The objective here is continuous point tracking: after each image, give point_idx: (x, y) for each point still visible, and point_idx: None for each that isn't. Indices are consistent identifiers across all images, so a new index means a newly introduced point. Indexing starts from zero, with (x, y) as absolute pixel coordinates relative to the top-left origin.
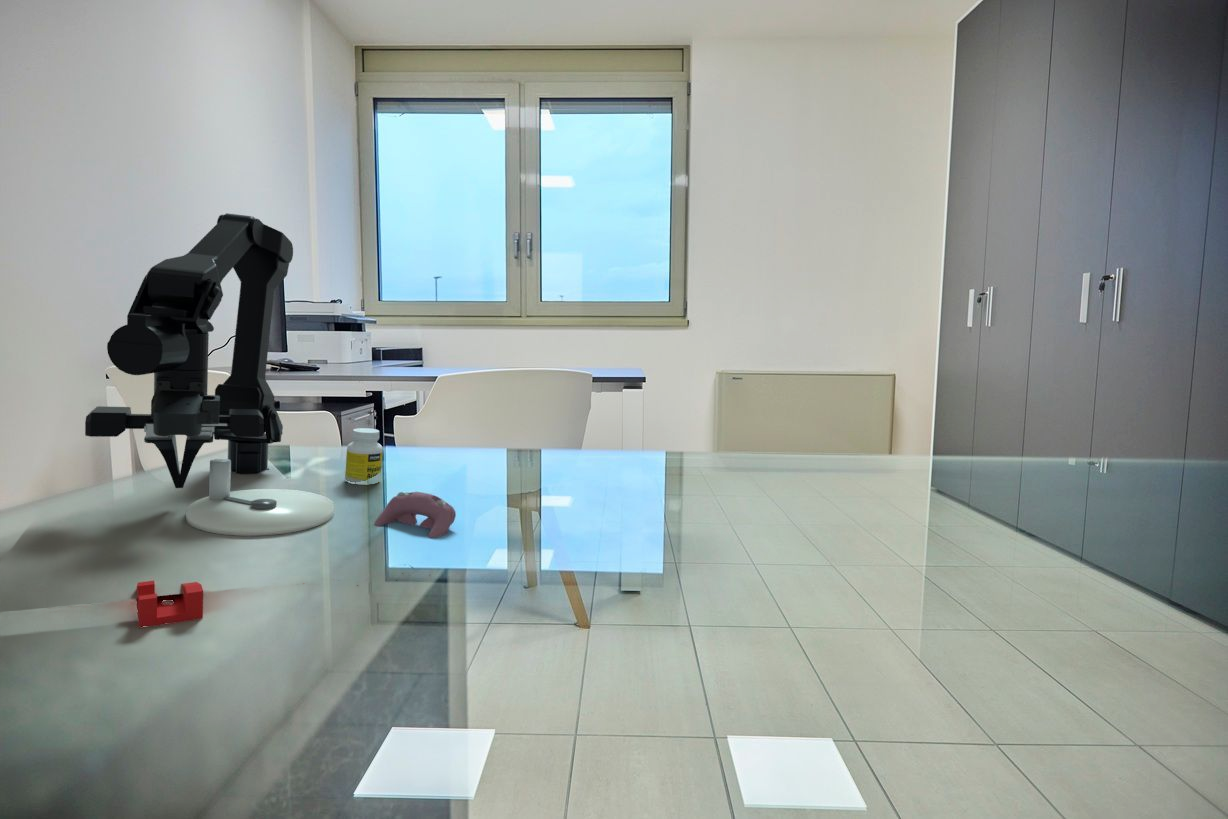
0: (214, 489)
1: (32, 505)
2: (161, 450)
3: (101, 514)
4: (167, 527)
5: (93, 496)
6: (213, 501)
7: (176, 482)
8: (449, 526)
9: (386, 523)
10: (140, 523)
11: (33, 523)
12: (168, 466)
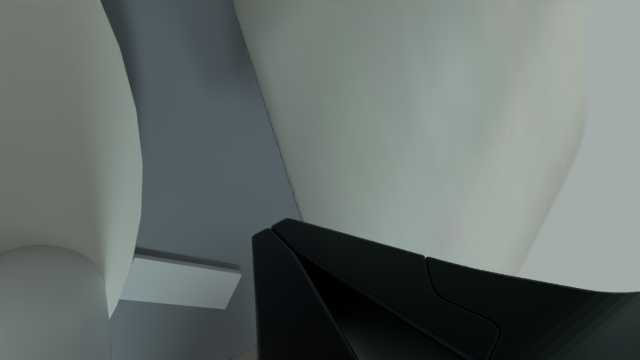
0: (33, 291)
1: (562, 171)
2: (599, 305)
3: (444, 140)
4: None
5: None
6: (22, 217)
7: (296, 231)
8: None
9: None
10: (322, 64)
11: (557, 28)
12: (408, 255)
